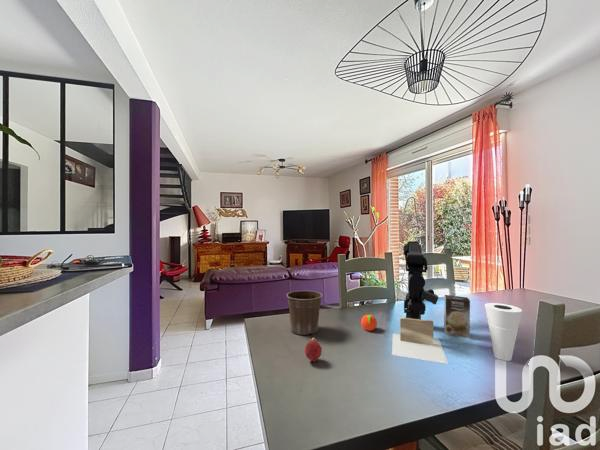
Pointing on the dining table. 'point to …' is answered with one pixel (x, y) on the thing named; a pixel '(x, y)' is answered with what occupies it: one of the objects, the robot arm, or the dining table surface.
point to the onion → (313, 350)
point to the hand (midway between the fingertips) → (415, 321)
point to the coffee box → (457, 316)
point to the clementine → (368, 322)
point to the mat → (418, 350)
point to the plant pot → (304, 311)
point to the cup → (503, 328)
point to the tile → (416, 331)
